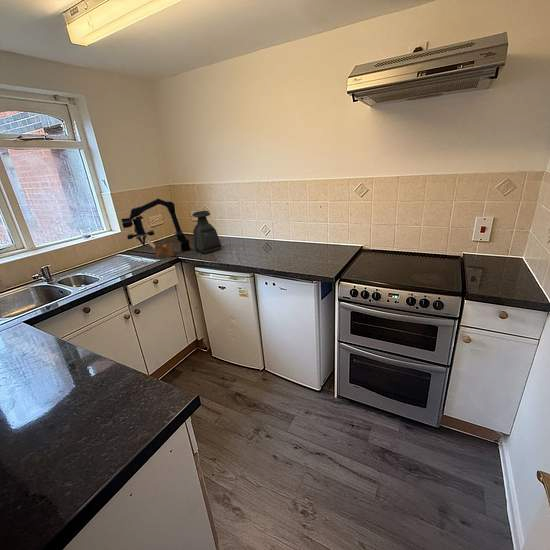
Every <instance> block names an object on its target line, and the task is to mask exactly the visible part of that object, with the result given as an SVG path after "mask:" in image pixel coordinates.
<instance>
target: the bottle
mask: <svg viewBox="0 0 550 550" xmlns="http://www.w3.org/2000/svg"><path fill="white" fill-rule="evenodd" d="M191 215H192V217H194V218H197V223H196V224H195V225H194V228H193V230H192V236H193V248H194V249H195V250H196V251H197V252H198V253H199V252H200V253H201V254H203V255H204V254H209V253H213V252H215V251H216V252H217V251H219V250H220V249H221V247H222V244H221V240H220V238H219V234H218V232H217V229H216V228H215V227H214V226H213V225H212V224H211V223H210V222H209V220H208V219H207V217H208V216H211V212H209V211H208V210H199V211H195V212H193V213H192V214H191Z"/></svg>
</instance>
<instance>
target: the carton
mask: <svg viewBox="0 0 550 550" xmlns="http://www.w3.org/2000/svg"><path fill="white" fill-rule="evenodd" d="M163 245H167V247H166V248H163ZM154 252H155V257H156V260H160V259H164V258H172V257H175V256H176V254H175V248H174V245H173V242H170V243H164V244H159V245H155V248H154Z"/></svg>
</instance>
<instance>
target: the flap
mask: <svg viewBox="0 0 550 550" xmlns="http://www.w3.org/2000/svg"><path fill="white" fill-rule="evenodd" d="M146 243H147V245H149V246H150V247H151V248H152V249H153V250H155V246H156V245H155V244H154V242H152V241H151V240H150V239H148V240H147V242H146Z"/></svg>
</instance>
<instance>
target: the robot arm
mask: <svg viewBox="0 0 550 550" xmlns="http://www.w3.org/2000/svg"><path fill="white" fill-rule="evenodd" d="M158 205H160V206H163V207H165V208H166V210H167V212H168V213H169V215H170V218H171V221H172V224H173V227H174V230H175V233H174V236H175V239H176V240H177V241H178V242H179V243H180V250H181V251H182V252H187V251H188V252H189V251H191V250H192V249H191V247H190V240H189V239H188V238H186V236H185V234H184V232H183V231H182V228H181V225H180V222H179V220H178V216H177V214H176V207H175V206H176V205H175V203H174V202H173V201H170V200H167V201H166V200H163V199H160V198H155V199H153V200H151V201H149V202H147V203H145V204H143V205H141V206H136V207H133V208H131V209H130V211H129V212H130V213H129V214H130V215H129V216H128V217H124V218H123V217H122V218H120V220H121V224H122V227H123V229H127V228H132V227H134V228H133V229H134V230H133V231H134V233H129V234H127V236H126V238H127V240H132V239H133V238H135V239H136V240H138V241H139V242H140V243H141V244H142V246H143V247H145V246H146V238H147V237H148V236H155V230H154V229H152V230H148V231H147V232H146V230H145V227H144V225H143V221H142V219H144V217H143V216H142V214H143V213H144V212H147V211H148V210H151V209H152V208H154V207H157V206H158Z"/></svg>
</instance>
